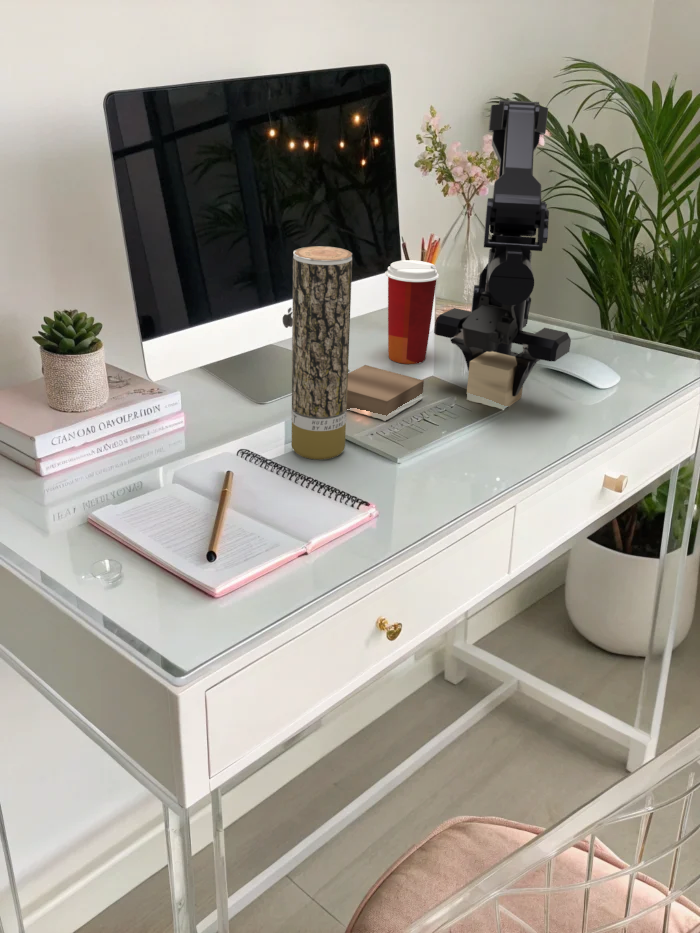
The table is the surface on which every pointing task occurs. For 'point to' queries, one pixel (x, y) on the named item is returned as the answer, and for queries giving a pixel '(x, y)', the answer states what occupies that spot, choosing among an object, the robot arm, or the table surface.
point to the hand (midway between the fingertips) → (494, 390)
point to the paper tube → (320, 350)
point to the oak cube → (493, 377)
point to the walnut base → (380, 390)
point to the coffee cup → (410, 309)
